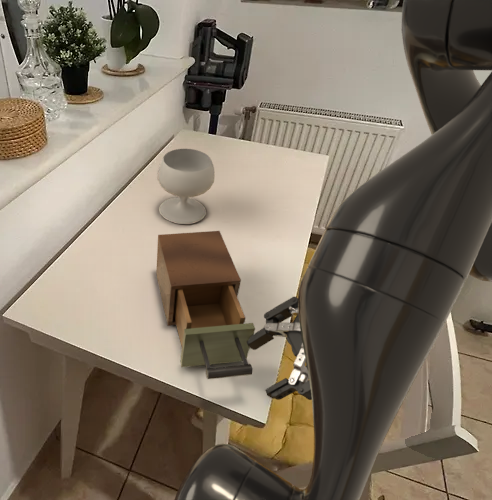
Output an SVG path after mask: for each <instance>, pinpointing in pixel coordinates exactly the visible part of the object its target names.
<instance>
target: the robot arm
mask: <svg viewBox="0 0 492 500" xmlns="http://www.w3.org/2000/svg"><path fill="white" fill-rule="evenodd" d="M400 29H401V37H402V38H401V39H402V46H403V51H404V52H403V53H404V56H405V60H406V63H407V67H408V70H409V74H410V77H411V80H412V83H413V85H414V89H415V92H416V94H417V98H418V101H419V103H420V107H421V110H422V114H423V116H424V118H425V121H426V124H427V127H428V129H429V132H430V134H431V135H430V136H428V137H427V138H426V139H424V140H423V141H422V142H421V143H419V144H418V145H416V146H415V147H413V148H412V149H410V150H409V151H407V152H406V153H405V154H403V155H402V156H400V157H398V158H397V159H396V160H394V161H393V162H391V163H390V164H389V165H387V166H386V167H385V168H383V169H381V170H380V171H378V172H377V173H376V174H375V175H373V176H372V177H371V178H369V179H368V180H367V181H365V182H364V183H363V184H361V185H360V186H359V187H358V188H356V189H355V190H354V191H353V192H352V193H350V194H349V195H348V196H347V197H346V199H344V200H343V201H342V202H341V203H340V204H339V206H338V207H337V208H336V210H335V211H334V213H333V214H332V216H331V218H330V219H329V221H328V223H327V225H326V227H325V230H324V231H323V233H322V235H321V238H320V240H319V242H318V244H317V246H316V248H315V250H314V253H313V255H312V257H311V259H310V261H309V263H308V265H307V268H306V270H305V272H304V274H303V277H302V278H301V279H300V283H299V287H298V295H297V296H292V297H290V298H288V299H287V300H285V301H284V302H281V303H280V304H278V305H277V306H274V307H273V308H271V309H270V310H268V311H266V312H265V313H264V314H263V318H264V319H265V324H264V326H263V327H262V328H261V329H260V330H258V331H257V332H254V334H253V335H252V336H251V337H250V338H249V340H248V341H247V344H248V347H250V348H249V349H252V350H253V351H256V350H258V349H260V348H261V347H263V346H264V345H266V344H268V343H269V342H271V341H273V340H274V339H275V337H280V338H285V339H286V342H287V343H288V345H290V346H291V352H292V353H293V356H294V357H295V359H294V361H293V364H292V365H293V368H292V371H291V373H290V375H289V377H288V378H287V377H285V378H283V379H282V380H280V381H278V382H276V383H274V384H273V385H271V386H268V387H267V388H266V389H265V390H264V392H265V394H266V396H267V397H269V398H270V399H273V400H277V401H280V400H283V399H284V398H286V397H288V396H290V395H292V394H293V393H295V392H297V393H298V394H299V395H300V396H302V397H303V398H305V399H307V400H308V401H311V408H312V422H313V423H312V424H313V425H312V426H313V458H312V467H311V476H310V479H309V482H308V484H307V486H306V487H305V488H303V489H301V488H299V487H298V486H296V485H293V484H292V482H290V481H288V480H287V479H285V478H284V477H282V476H281V475H279V474H277V473H276V472H275V471H273V470H271V469H270V468H269V467H266V466H265V465H264V464H262V463H260V462H259V461H257V460H256V459H254V458H253V457H251V456H250V455H248V454H247V453H245V452H244V451H242V450H240V449H239V448H237V447H236V446H234V445H232V444H228V443H219V444H215V445H213V446H211V447H209V448H208V449H206V450H205V451H204V452H203V453H201V454H200V456H198V457H197V458H196V460H195V461H194V462H193V463H192V464H191V466H190V468H189V469H188V470H187V472H186V473H185V476H184V477H183V479H182V481H181V483H180V485H179V487H178V489H177V492H176V494H175V496H174V499H173V500H360V499H361V497H362V494H363V492H364V489H365V486H366V485H367V482H368V480H369V477H370V475H371V472H372V470H373V467H374V465H375V462H376V459H377V457H378V455H379V453H380V452H381V451H380V450H381V448H382V446H383V444H384V442H385V440H386V437H387V435H388V434H389V432H390V430H391V427H392V425H393V423H394V421H395V419H396V417H397V415H398V413H399V411H400V409H401V408H402V405H403V403H404V401H405V400H406V397H407V396H408V394H409V393H410V390H411V388H412V386H413V385H414V383H415V381H416V379H417V377H418V375H419V373H420V371H421V370H422V368H423V366H424V364H425V362H426V361H427V359H428V356H429V354H430V353H431V351H432V349H433V347H434V345H435V343H436V342H437V340H438V338H439V336H440V334H441V333H442V330H443V328H444V327H445V324H446V322H447V320H448V319H449V316H450V314H451V312H452V310H453V308H454V306H455V305H456V302H457V300H458V298H459V296H460V293H461V291H462V290H463V287H464V286H465V283H466V281H467V279H468V278H469V276H470V277H472V278H474V279H476V280H479V281H482V282H489V283H491V282H492V0H403V3H402V8H401V28H400ZM475 71H491V72H490V73H489V75H487V77H486V78H485V80H484V81H483V82H482V83H480V82H479V79H478V78H477V75H476V73H475ZM293 316H294V317H295V318H294V319H293V322H284V321H286V320H287V319H288V320H289V318H291V317H293Z"/></svg>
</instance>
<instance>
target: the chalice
mask: <svg viewBox="0 0 492 500" xmlns="http://www.w3.org/2000/svg"><path fill="white" fill-rule="evenodd" d="M156 175H157V176H156V178H157V181H158V184H159V185H160V187H161V188H162V189H163V190H164V191H165V192H167V193H168V194H170V195H173V196H175V197H171V198H168V199H166V200H164V201H163V202H161V204H160V205H159V207H158V208H159V214H160V215H161V216H162V217H163V218H164V219H165V220H167V221H169V222H171V223H175V224H179V225H190V224H195V223H198V222H200V221H202V220H203V219H204V218H205V216H206V214H207V211H206V208H205V206H204V204H202V203H201V202H200V201H198V200H196V199H194V198H195V197H199V196H202V195H204V194H205V193H207V192H209V190H210V189H211V188H212V186H213V185H214V183H215V177H216V176H215V175H216V174H215V166H214V163H213V161H212V159H211V157H210V156H209V154H207V153H205V152H203V151H201V150H197V149H193V148H176V149H172V150H170V151H168V152H166V153H165V154H164V156H163V157H162V158H161V159H160V162H159V165H158V167H157V174H156Z"/></svg>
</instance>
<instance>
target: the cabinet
mask: <svg viewBox="0 0 492 500" xmlns="http://www.w3.org/2000/svg"><path fill="white" fill-rule="evenodd" d="M156 250H157V251H156V269H155V274H156V280H157V283H158V288H159V292H160V297H161V301H162V302H161V303H162V306H163V310H164V315H165V320H166V323H167V326H168V327H169V326H176V321H175V317H174V313H173V312H174V301H175V291H176V289H184V288H196V287H209V286H221V285H232V286H233V289H234V291H235V293H236V296H237V297H238V295H239V291H240V287H241V283H242V279H241V277H240V275H239V273H238V271H237V268H236V266H235V264H234V261H233V258H232V256H231V254H230V252H229V250H228V247H227V245H226V242H225V240H224V238H223V236H222V234H221V231H220V230H209V231H193V232H182V233H180V232H177V233H165V234H164V233H163V234H157V249H156Z"/></svg>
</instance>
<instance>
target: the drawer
mask: <svg viewBox="0 0 492 500" xmlns="http://www.w3.org/2000/svg"><path fill="white" fill-rule="evenodd" d="M173 313H174V317H175V321H176V325H175V326H176V329H177V333H178V334H177V335H178V337H179V342H180V345H181V353H180V359H179V360H180V361H179V363H180V366H181V368H187V367H189V368H190V367H199V366H205V368H206V369H205V376H206V379H207V380H213V379H223V378H224V379H225V378H233V377H243V376H252V375H253V372H254V370H253V369H254V368H253V366H252V364H250V363H249V362H248V359H247V358H248V355H249V352H250V349H251V348H250V347H248V344H247V341H248V340H249V338H250V337H251V336H252V335H253V334H255V330H256V327H255V325H254V323H253V322H247V323H246V322H245V320H246V316H245V314H244V311H243V308H242V306H241V304H240V301H239V298H238V296H236V293H235V291H234V289H233V286H232V285H221V286H209V287H196V288H184V289H176V291H175V301H174V312H173ZM237 362H238V363H239V362H242V364H237V365H226V366H216V367H211V365H217V364H227V363H229V364H230V363H237Z"/></svg>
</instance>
